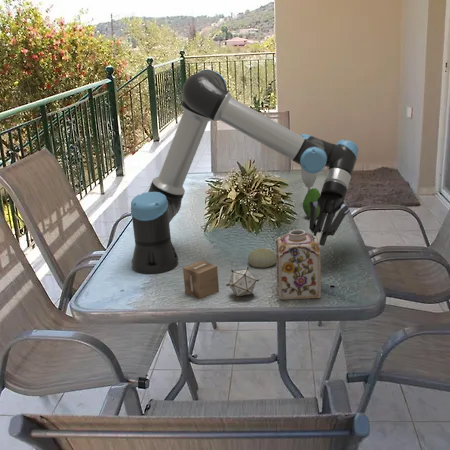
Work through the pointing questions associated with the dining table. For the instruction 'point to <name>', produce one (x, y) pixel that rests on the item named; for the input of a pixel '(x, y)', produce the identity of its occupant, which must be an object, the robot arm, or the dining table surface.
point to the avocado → (311, 197)
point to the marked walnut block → (201, 279)
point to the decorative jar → (298, 266)
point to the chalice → (308, 178)
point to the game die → (242, 282)
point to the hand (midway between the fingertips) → (314, 253)
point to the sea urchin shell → (262, 258)
